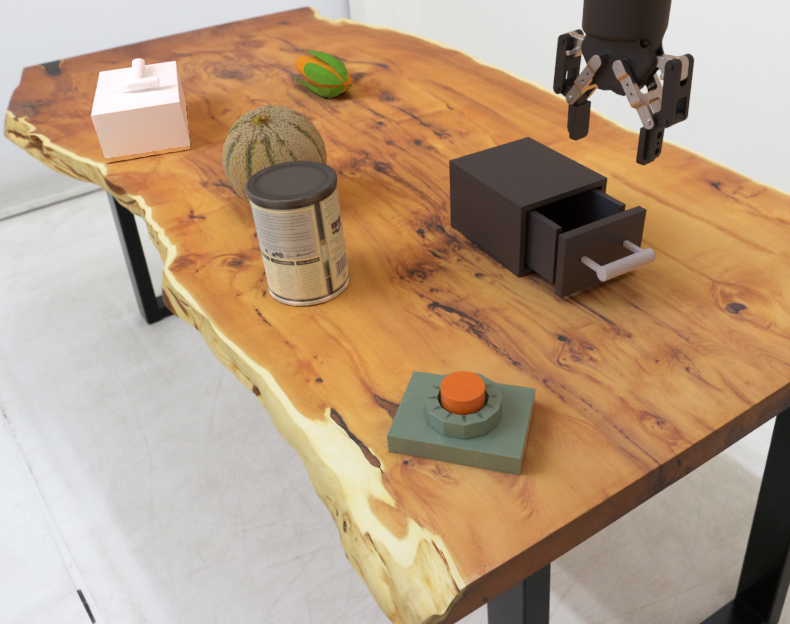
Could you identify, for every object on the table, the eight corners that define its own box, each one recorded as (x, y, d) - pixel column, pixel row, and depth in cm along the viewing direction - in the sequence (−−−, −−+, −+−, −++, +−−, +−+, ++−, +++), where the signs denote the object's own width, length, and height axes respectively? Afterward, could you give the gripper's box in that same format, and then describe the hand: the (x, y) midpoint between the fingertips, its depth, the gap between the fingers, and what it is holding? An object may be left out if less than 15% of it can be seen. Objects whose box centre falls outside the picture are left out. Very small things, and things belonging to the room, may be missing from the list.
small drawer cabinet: (599, 246, 91) (607, 177, 85) (518, 277, 86) (521, 207, 81) (525, 200, 102) (528, 136, 96) (450, 225, 98) (448, 160, 92)
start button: (488, 388, 66) (489, 374, 65) (480, 418, 63) (480, 404, 62) (446, 382, 67) (446, 368, 66) (436, 411, 64) (435, 397, 63)
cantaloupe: (319, 174, 114) (306, 81, 105) (343, 215, 102) (330, 113, 93) (227, 193, 110) (205, 98, 101) (241, 237, 99) (217, 134, 90)
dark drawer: (664, 284, 81) (675, 225, 77) (586, 317, 78) (593, 256, 73) (559, 218, 95) (563, 164, 91) (488, 244, 91) (489, 189, 87)
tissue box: (106, 164, 123) (86, 102, 116) (113, 115, 143) (95, 59, 136) (191, 149, 125) (175, 88, 119) (186, 103, 145) (172, 48, 139)
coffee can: (268, 266, 92) (247, 165, 84) (347, 256, 93) (334, 155, 85) (266, 312, 84) (243, 205, 76) (353, 301, 85) (339, 194, 76)
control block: (534, 405, 69) (536, 373, 66) (520, 476, 62) (521, 444, 59) (414, 386, 72) (412, 356, 69) (388, 452, 65) (384, 421, 63)
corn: (326, 66, 133) (278, 45, 147) (328, 106, 138) (281, 82, 151) (359, 60, 137) (309, 39, 150) (361, 99, 141) (312, 76, 155)
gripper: (539, -27, 65) (533, 141, 75) (671, -5, 56) (645, 184, 65) (595, -41, 69) (582, 121, 78) (729, -24, 59) (695, 159, 68)
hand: (610, 149), depth 72 cm, fingers open, 8 cm apart
